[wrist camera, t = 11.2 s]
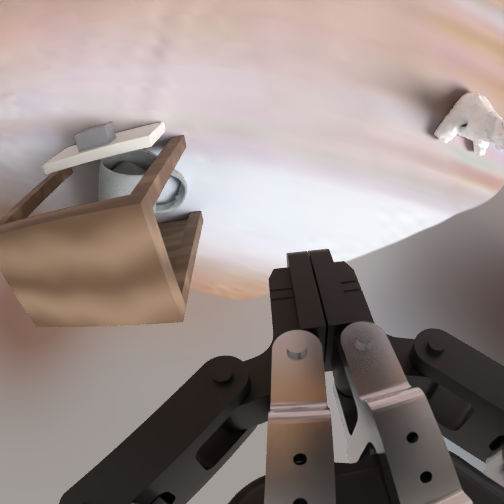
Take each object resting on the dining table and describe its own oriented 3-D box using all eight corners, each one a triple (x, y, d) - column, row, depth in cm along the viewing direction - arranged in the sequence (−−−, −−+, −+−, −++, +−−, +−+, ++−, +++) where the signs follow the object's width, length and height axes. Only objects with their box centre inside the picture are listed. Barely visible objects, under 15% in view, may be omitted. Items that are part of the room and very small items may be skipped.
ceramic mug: (108, 200, 41) (87, 230, 35) (113, 143, 36) (89, 166, 30) (182, 215, 43) (172, 248, 37) (194, 159, 38) (184, 184, 32)
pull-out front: (62, 134, 35) (36, 150, 29) (160, 105, 34) (144, 117, 29) (69, 155, 37) (45, 174, 31) (165, 130, 36) (151, 146, 30)
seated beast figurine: (429, 137, 36) (481, 172, 26) (444, 78, 31) (503, 97, 21) (478, 154, 37) (529, 190, 27) (493, 101, 32) (550, 127, 22)
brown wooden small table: (61, 165, 37) (-17, 238, 23) (183, 135, 36) (140, 203, 22) (89, 238, 44) (36, 326, 30) (203, 220, 43) (183, 321, 29)
